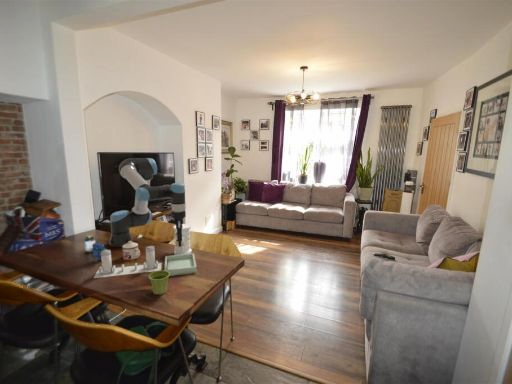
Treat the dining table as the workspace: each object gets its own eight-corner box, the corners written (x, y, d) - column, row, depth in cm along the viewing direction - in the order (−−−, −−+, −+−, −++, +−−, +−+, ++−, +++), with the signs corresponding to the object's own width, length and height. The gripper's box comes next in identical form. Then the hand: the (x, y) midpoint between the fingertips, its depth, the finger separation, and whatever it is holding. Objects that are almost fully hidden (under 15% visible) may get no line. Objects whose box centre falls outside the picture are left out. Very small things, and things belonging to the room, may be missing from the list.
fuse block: (98, 272, 142) (96, 249, 140) (161, 265, 152) (160, 243, 150) (93, 280, 133) (91, 256, 131) (161, 272, 143) (159, 249, 140)
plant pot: (163, 284, 131) (162, 268, 129) (174, 291, 125) (173, 274, 123) (145, 292, 123) (145, 275, 122) (156, 299, 117) (155, 281, 116)
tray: (165, 261, 157) (165, 256, 157) (194, 258, 162) (193, 253, 162) (164, 276, 139) (164, 270, 138) (196, 272, 144) (196, 266, 143)
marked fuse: (175, 252, 151) (175, 232, 149) (184, 251, 152) (183, 231, 150) (175, 255, 146) (175, 235, 144) (184, 254, 148) (183, 234, 146)
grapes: (86, 262, 154) (84, 243, 152) (96, 258, 160) (95, 239, 158) (101, 265, 150) (99, 246, 148) (111, 260, 157) (109, 242, 155)
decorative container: (188, 247, 180) (187, 223, 177) (194, 253, 170) (193, 227, 167) (171, 250, 174) (170, 225, 171) (176, 257, 164) (175, 230, 161)
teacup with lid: (119, 260, 157) (118, 242, 155) (131, 255, 165) (130, 238, 164) (134, 264, 153) (133, 245, 151) (145, 258, 161) (144, 240, 159)
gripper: (171, 207, 152) (173, 245, 156) (171, 214, 136) (173, 256, 139) (184, 207, 154) (186, 243, 158) (186, 213, 138) (187, 254, 142)
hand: (179, 249), depth 149 cm, fingers closed on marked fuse, 5 cm apart
